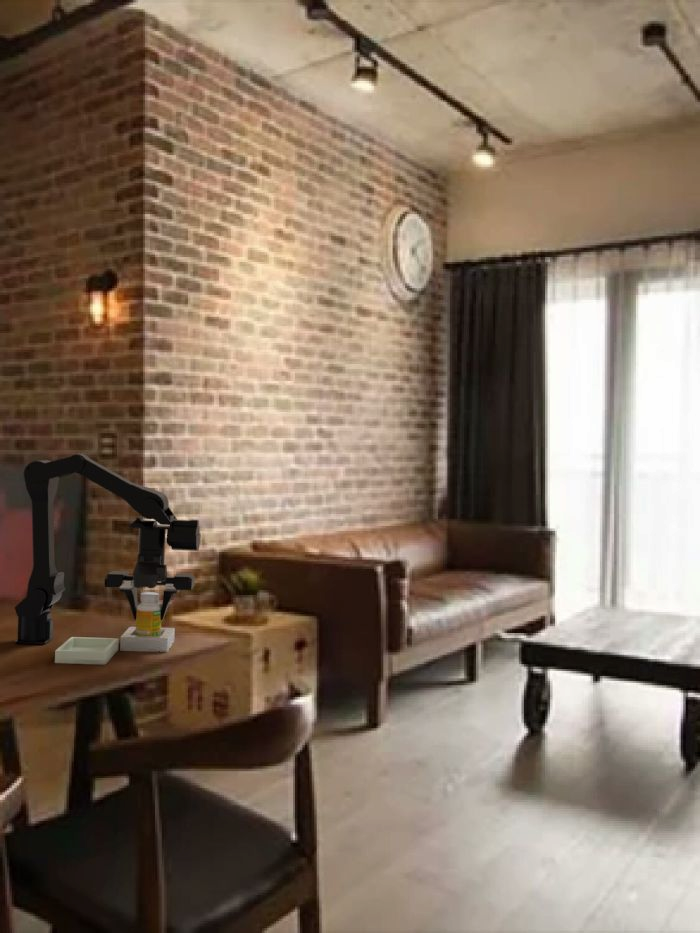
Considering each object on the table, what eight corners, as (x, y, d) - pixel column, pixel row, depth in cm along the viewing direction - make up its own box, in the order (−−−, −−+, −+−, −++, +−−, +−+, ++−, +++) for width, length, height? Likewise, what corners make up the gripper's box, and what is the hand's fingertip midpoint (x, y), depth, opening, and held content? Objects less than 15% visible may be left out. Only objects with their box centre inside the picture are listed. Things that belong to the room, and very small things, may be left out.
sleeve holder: (120, 650, 186) (120, 636, 186) (129, 639, 196) (130, 626, 196) (167, 652, 187) (167, 638, 186) (174, 641, 197) (174, 628, 196)
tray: (54, 663, 174) (55, 650, 174) (70, 648, 186) (71, 636, 186) (105, 664, 175) (105, 652, 174) (118, 649, 187) (118, 638, 186)
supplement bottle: (154, 641, 188) (156, 596, 188) (131, 639, 189) (132, 594, 189) (164, 636, 193) (166, 592, 193) (142, 634, 194) (143, 590, 194)
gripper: (99, 552, 182) (97, 626, 183) (189, 555, 183) (186, 629, 184) (111, 545, 193) (109, 615, 194) (196, 548, 194) (193, 618, 195)
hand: (148, 619), depth 191 cm, fingers closed on supplement bottle, 5 cm apart
